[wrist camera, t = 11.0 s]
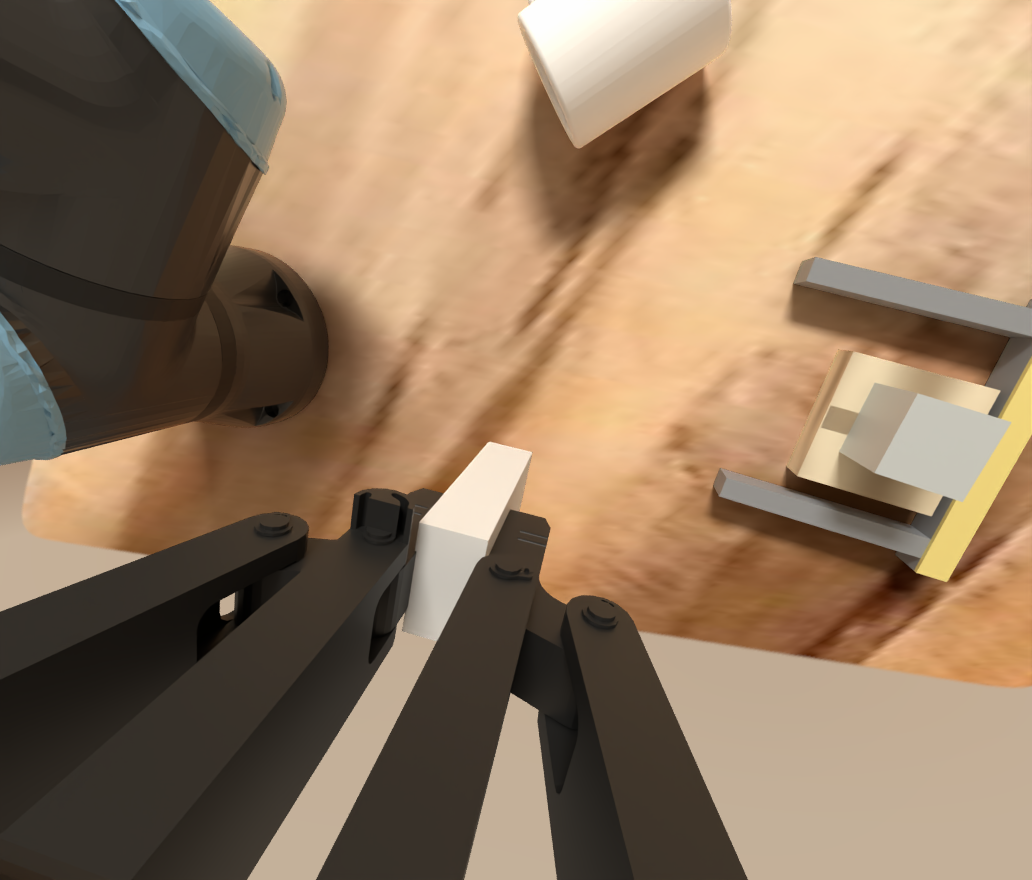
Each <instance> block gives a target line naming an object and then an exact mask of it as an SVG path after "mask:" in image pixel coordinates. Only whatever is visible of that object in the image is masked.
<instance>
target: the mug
mask: <svg viewBox="0 0 1032 880" xmlns="http://www.w3.org/2000/svg"><path fill="white" fill-rule="evenodd" d="M528 3H529V6H528V7H526V8H525V9H524V10H522V11H521V12H520V13H519V14H518V24H519V27H520V30H521V33H522V36H523V38H524V41H525V44H526V46H527V49H528V51H529V53H530V56H531V58H532V61H533V63H534V65H535V68H536V70H537V72H538V74H539V77H540V79H541V81H542V83H543V86H544V88H545V90H546V92H547V94H548V97H549V99H550V101H551V103H552V105H553V107H554V109H555V111H556V113H557V115H558V117H559V120H560V122H561V124H562V125H563V127H564V129H565V131H566V133H567V135H568V137H569V139H570V140H571V142H572V144H573V145H574V146H575V147H576V148H578V149H580V148H582V147H583V146H585V145H586V144H588V143H589V142H591V141H592V140H594V139H595V138H597V137H598V136H600V135H602V134H603V133H605V132H606V131H608V130H609V129H611V128H612V127H614V126H615V125H617V124H618V123H620V122H621V121H623V120H624V119H626V118H627V117H629V116H630V115H632V114H634V113H635V112H637V111H638V110H640V109H641V108H643V107H644V106H646V105H647V104H649V103H650V102H652V101H653V100H655V99H656V98H658V97H659V96H661V95H663V94H664V93H666V92H667V91H669V90H670V89H672V88H673V87H675V86H676V85H678V84H679V83H681V82H682V81H684V80H685V79H687V78H688V77H690V76H692V75H693V74H695V73H696V72H698V71H699V70H701V69H702V68H704V67H705V66H707V65H708V64H710V63H711V62H713V61H714V60H716V59H717V58H719V57H720V56H722V55H723V54H724V53H725V51H726V49H727V47H728V45H729V41H730V37H731V30H732V8H731V0H528Z"/></svg>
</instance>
